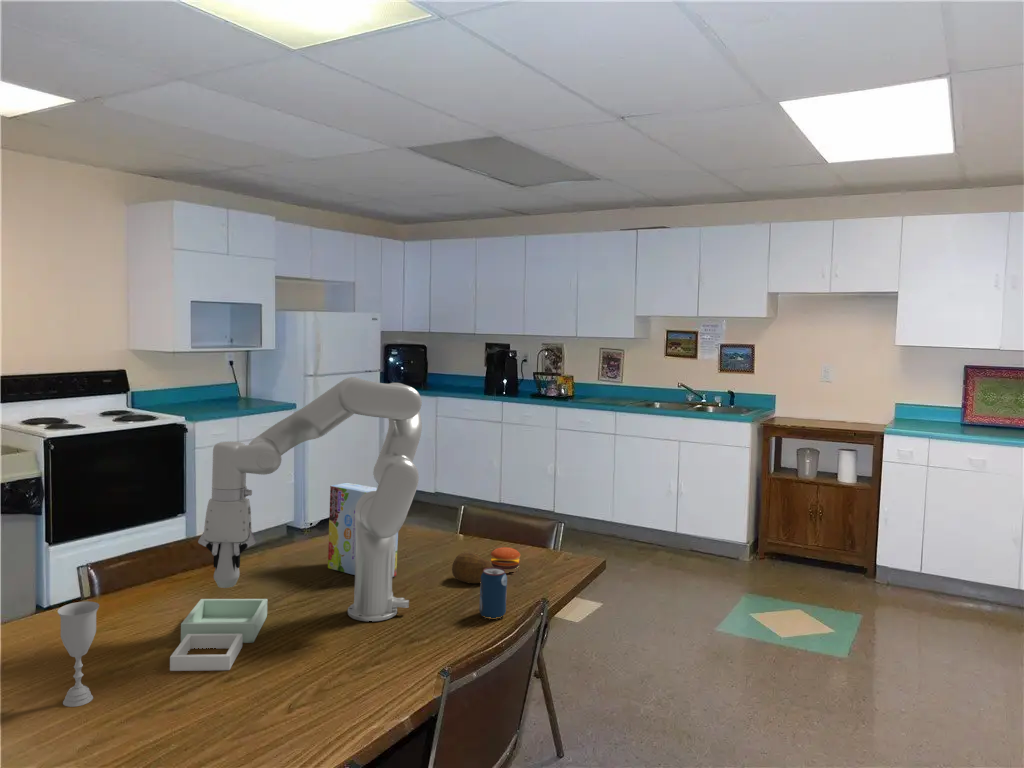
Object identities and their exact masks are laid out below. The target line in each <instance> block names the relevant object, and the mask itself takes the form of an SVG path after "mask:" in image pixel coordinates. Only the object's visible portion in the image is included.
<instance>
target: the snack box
mask: <svg viewBox="0 0 1024 768" xmlns="http://www.w3.org/2000/svg"><path fill="white" fill-rule="evenodd" d="M329 488H330V490H329V491H330V493H329V494H330V495H329V517H328V519H329V520H328V548H327V549H328V551H327V553H328V554H327V555H328V556H327V569H329V570H334V571H338V572H341V573H345V574H350V575H354V576H355V560H356V525H355V509H356V505H357V502H358V500H359V499H360V498H361V497H362V496H363V495H364V494H365V493H367V492H370V491H376V490H377V487H375V486H374V487H373V486H369V485H364V484H363V485H362V484H357V483H351V482H345V483H338V484H331V485H330V487H329ZM393 540H394V547H393V572H392V578H394V577H397V572H398V571H397V570H398V568H397V567H398V565H397V564H398V543H399V542H398V541H399V531H398V532H397V533H396V534H395V535H393Z"/></svg>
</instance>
